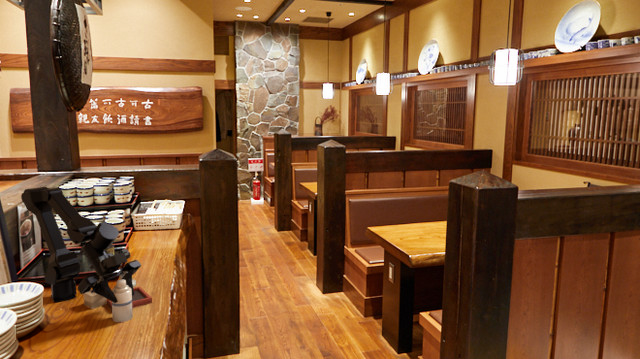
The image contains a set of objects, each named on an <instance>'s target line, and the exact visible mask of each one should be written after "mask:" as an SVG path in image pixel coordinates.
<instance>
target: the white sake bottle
mask: <svg viewBox="0 0 640 359" xmlns="http://www.w3.org/2000/svg"><path fill="white" fill-rule="evenodd" d="M115 284H116V285H115V286H114V288H113V289H111V290H112V292H113V293H114V295H115V297H116V299H117V303H114V302H112V308H111V312H112V314H111V315H112V321H113V322H115V323H125V322H128V321H130V320H132V318H133V308H132V289H131V288H130V287H129V286H128V285H126V280H124V279H121V278H120V279H118V280H116V282H115Z"/></svg>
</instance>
